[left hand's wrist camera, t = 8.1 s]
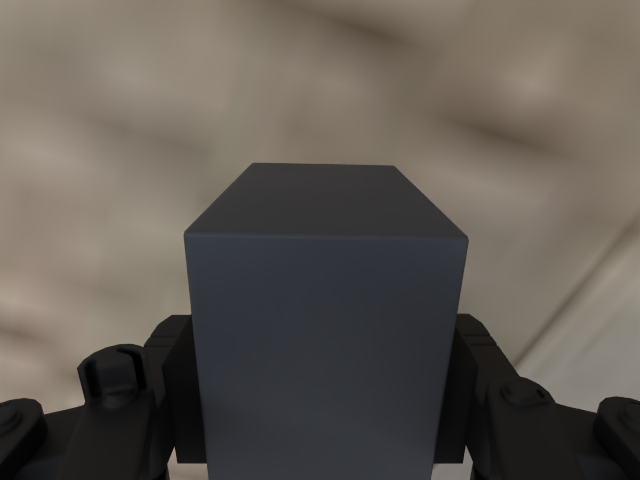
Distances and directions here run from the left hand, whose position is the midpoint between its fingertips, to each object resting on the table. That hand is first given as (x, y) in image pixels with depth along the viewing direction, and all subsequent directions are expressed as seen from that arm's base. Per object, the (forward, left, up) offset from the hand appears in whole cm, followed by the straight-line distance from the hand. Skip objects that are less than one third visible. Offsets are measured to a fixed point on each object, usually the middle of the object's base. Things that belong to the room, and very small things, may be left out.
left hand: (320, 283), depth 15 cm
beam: (-2, +24, -1) cm, 24 cm away
